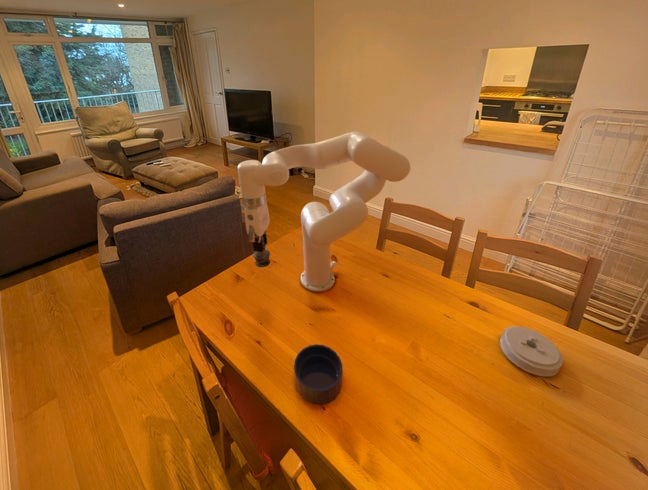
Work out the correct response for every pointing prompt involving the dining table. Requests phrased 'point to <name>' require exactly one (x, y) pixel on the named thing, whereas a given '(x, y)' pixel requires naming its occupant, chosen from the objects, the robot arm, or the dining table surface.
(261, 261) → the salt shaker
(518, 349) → the lid
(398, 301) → the dining table surface
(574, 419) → the dining table surface
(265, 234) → the robot arm
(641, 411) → the dining table surface
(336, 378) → the dark blue round container
